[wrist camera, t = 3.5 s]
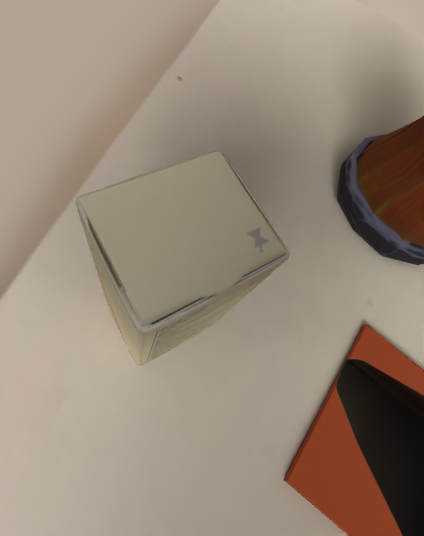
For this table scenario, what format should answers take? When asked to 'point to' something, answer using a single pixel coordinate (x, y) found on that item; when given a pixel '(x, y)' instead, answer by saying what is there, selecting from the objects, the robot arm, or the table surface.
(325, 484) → the mat
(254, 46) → the table surface
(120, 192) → the box
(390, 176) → the mug
